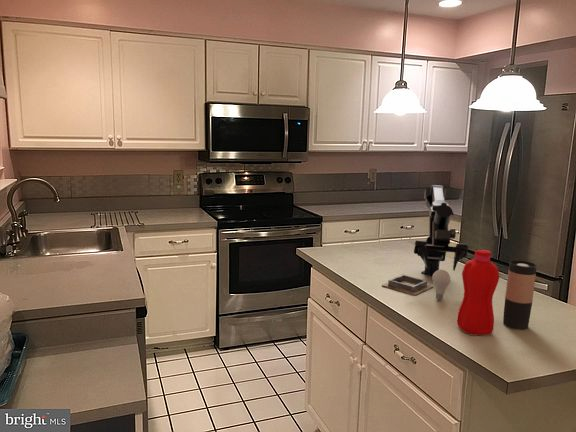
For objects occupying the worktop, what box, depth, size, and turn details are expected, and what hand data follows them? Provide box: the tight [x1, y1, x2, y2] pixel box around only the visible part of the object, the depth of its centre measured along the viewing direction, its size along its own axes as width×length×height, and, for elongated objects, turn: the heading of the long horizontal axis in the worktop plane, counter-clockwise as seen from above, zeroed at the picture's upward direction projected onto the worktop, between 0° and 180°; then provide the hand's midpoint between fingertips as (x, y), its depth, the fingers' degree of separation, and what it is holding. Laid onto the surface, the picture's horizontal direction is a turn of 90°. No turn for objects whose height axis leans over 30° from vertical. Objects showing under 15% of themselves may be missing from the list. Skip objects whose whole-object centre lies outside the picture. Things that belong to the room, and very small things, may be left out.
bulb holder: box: [381, 274, 434, 297], centre depth 183 cm, size 14×14×2 cm
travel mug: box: [502, 259, 538, 331], centre depth 148 cm, size 8×8×20 cm
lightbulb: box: [431, 269, 451, 301], centre depth 169 cm, size 6×6×11 cm
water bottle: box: [456, 249, 500, 336], centre depth 144 cm, size 9×11×25 cm
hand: (440, 268), depth 172 cm, fingers open, 9 cm apart
